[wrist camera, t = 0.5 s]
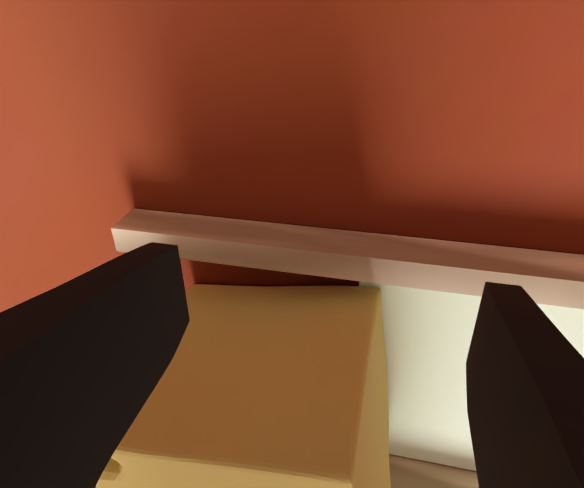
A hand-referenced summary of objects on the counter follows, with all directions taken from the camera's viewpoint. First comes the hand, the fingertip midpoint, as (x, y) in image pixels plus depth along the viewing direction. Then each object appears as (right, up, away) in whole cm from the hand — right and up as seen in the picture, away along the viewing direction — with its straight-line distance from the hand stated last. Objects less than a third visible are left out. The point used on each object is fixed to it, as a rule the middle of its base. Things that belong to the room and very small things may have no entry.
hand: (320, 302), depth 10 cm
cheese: (0, -5, +16) cm, 16 cm away
